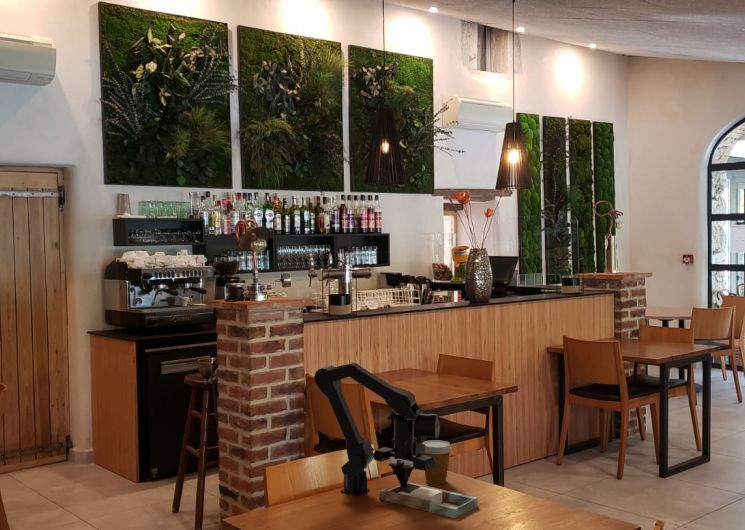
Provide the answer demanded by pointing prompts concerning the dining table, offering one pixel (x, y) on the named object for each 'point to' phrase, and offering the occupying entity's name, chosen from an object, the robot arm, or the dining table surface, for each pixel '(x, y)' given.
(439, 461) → the disposable coffee cup
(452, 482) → the dining table surface
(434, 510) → the box
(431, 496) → the ivory block
